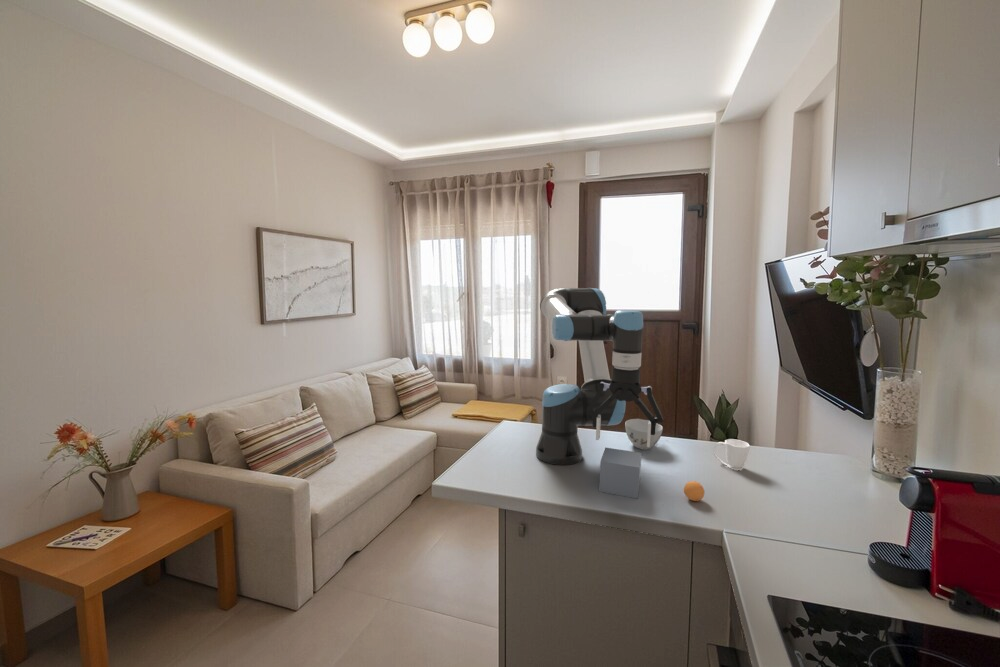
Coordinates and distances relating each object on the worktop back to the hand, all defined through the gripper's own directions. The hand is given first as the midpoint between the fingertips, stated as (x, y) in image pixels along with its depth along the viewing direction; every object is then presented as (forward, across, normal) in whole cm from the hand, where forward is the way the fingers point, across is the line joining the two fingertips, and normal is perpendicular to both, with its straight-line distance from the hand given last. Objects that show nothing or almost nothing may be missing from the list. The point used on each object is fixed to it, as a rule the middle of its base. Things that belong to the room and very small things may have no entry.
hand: (622, 442), depth 118 cm
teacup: (+13, +5, +34) cm, 37 cm away
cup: (+13, +31, +27) cm, 43 cm away
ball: (+11, +19, 0) cm, 22 cm away
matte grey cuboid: (+13, 0, 0) cm, 13 cm away
